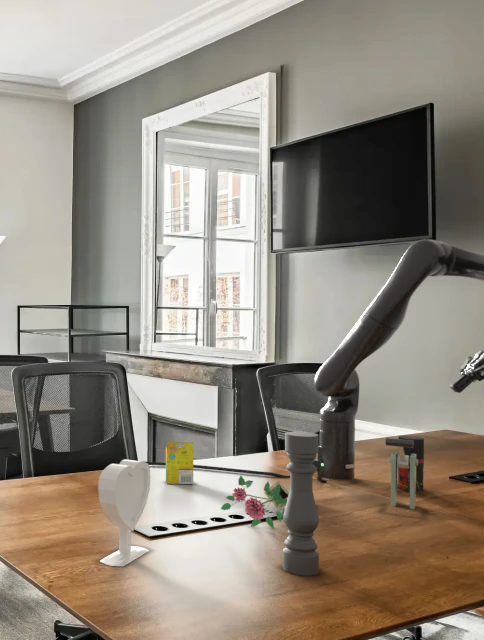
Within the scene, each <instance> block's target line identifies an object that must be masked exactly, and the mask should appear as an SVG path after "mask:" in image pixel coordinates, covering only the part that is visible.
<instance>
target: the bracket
mask: <svg viewBox="0 0 484 640" xmlns="http://www.w3.org/2000/svg"><path fill="white" fill-rule="evenodd" d="M390 455H391V456H389V459H388V460H389V461H388V462H389V464H390V507H396V506H397V504H398V451H392V453H391V454H390ZM416 466H418V460H416V454H411V456H410V491H409V509H411V510H415V508H416V506H417V492H416Z"/></svg>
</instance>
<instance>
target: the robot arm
mask: <svg viewBox="0 0 484 640" xmlns="http://www.w3.org/2000/svg"><path fill="white" fill-rule="evenodd" d="M442 276H443V277H461V278H469V279H474V280H478V281H482V282H484V253H483V254H482V253H478V252H473V251H469V250H465V249H463V248H460V247H458V246H455V245H452V244H450V243H446V242H445V241H442V240H436V239H419V240H417V241H415V242H414V243H412V244H411V245H410V246H408V247H407V249H406V251H405V252H404V253H403V256H402V257H401V258H400V261H399V262H398V264H397V265H396V267H395V269H394V271H393V272H392V274H391V276H390V277H389V279H388V280H387V282H386V283H385V285H383V287H382V288H381V290H380V291H379V292H378V293H377V295H376V296H375V297H374V299H373V300H372V302H371V303H370V304H369V305H368V307H367V308H366V309H365V310H364V312H363V313H362V314H361V316H360V317H359V319H358V320H357V322H356V323H355V325H354V326H353V327H352V329H351V330H350V331H349V333H348V334H347V335H346V337H345V338H344V339H343V341H342V342H341V343H340V344H339V346H338V347H337V349H336V350H335V351H334V352H333V353H332V354H331V355H330V356H329V357H328V358H327V360H326V361H325V362H323V364H322V365H321V366H320V367H319V368H318V369H317V371H316V373H315V374H314V378H313V385H314V389H315V391H316V392H317V393H318V394H319V395H321V396H323V397H327V402H326V404H325V405H324V406H323V407H321V409H320V410H319V434H318V453H317V457H316V458H315V459H314V462H313V465H314V466H315V467H316V468H317V471H316V472H317V473H316V475H317V481H322V482H326V483H327V482H328V481H329V480H330V479H331V480H354V479H356V478H355V476H356V475H355V469H356V466H355V464H356V463H355V460H356V458H355V457H356V455H355V454H356V451H355V449H356V415H357V413H358V411H359V403H360V376H359V374H358V372H357V370H356V368H358V366H359V365H360V364H362V362H363V361H365V360H366V359H367V358H368V357H370V356H372V355H373V354H374V353H376V352H377V351H378V350H379V349H381V348H383V346H385V345H386V344H387V343H388V342H389V341H390V340H391V339H392V337H393V336H394V335H395V333H396V332H397V331H398V329H399V328H400V327H401V325H402V324H403V323H404V320H405V317H406V315H407V311H408V308H409V303H410V300H411V299H412V296H413V295H414V293H415V292H416V290H417V289H419V287H420V286H421V284H422V283H424V282H425V280H426V279H428V277H442ZM459 373H460V375H459V376H458V377H457V378H456V379H455V380H454V381H452V383H450V385H449V388H450V389H451V390H452V391H453V392H454V393H458V394H461V393H462V392H463V391H464V390H466V388H468V387H469V386H470V385H471V384H472V383H476V382H477V381H478V382H481V381H483V380H484V349H481V350H479V351H477V352H476V354H475V355H474V357H473V356H471V355H468V356H467V357H466V358H465V360H464V362H463V364H462V365H461V367H460V369H459ZM140 461H141V462H146V463H148V465H149V466H164V467H166V462H161V461H159V462H158V461H144V460H140ZM193 469H202V470H211V471H213V470H214V471H220V472H221V471H222V472H231V473H240V474H241V473H242V474H249V475H250V474H251V475H261V476H271V477H276V478H285V479H290V475H286V474H280V473H276V472H270V471H261V470H251V469H250V470H249V469H240V468H233V467H232V468H230V467H222V466H211V465H202V464H201V465H200V464H193Z"/></svg>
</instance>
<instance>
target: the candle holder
mask: <svg viewBox="0 0 484 640" xmlns="http://www.w3.org/2000/svg"><path fill="white" fill-rule="evenodd" d="M318 447H319V434H318V433H314V432H308V431H286V432H285V433H284V451H286V456H287V457H288V460H289V463H288V464H287V465H286V466H285V468H286V471H288V473H289V476H290V478H289V488H290V491H289V495H288V499H287V503H286V507H285V511H284V510H283V517H282V520H283V523H284V526H285V527H286V528H287V529H288V530H287V533H288V534H289V535H288V536H287V537H286V538H285V540H284V542H283V543H284V546H285V547H283V549H282V569H283V571H285V572H287V573H290V574H293V575H298V576H309V577H310V576H315V575H319V569H320V568H319V566H320V564H319V563H320V556H319V555H320V553H319V552H318V551H317V549H318V543H317V542H316V541H315V539H314V537H313V536H314V535H315V533H314V532H315V531H316V530H317V528H318V526H319V523H320V518H319V512H318V509H317V505H316V504H317V503H316V500H315V496H314V492H313V491H314V490H313V487H314V485H313V483H314V482H313V481H314V480H313V479H314V478H313V477H314V474H315V473H316V472H317V468H316V467H315V466H314V465H313V462H314V459H315V458H317V457H318Z"/></svg>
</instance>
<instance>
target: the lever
mask: <svg viewBox="0 0 484 640" xmlns="http://www.w3.org/2000/svg"><path fill="white" fill-rule="evenodd" d="M385 446H389V447H396V448H397V452H399V455H398V466H399V468H408V469H409V460H410V459H409V456H408V455H405V451H404V447H409V448H413V440H403V439H398V438H391V437H385Z"/></svg>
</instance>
